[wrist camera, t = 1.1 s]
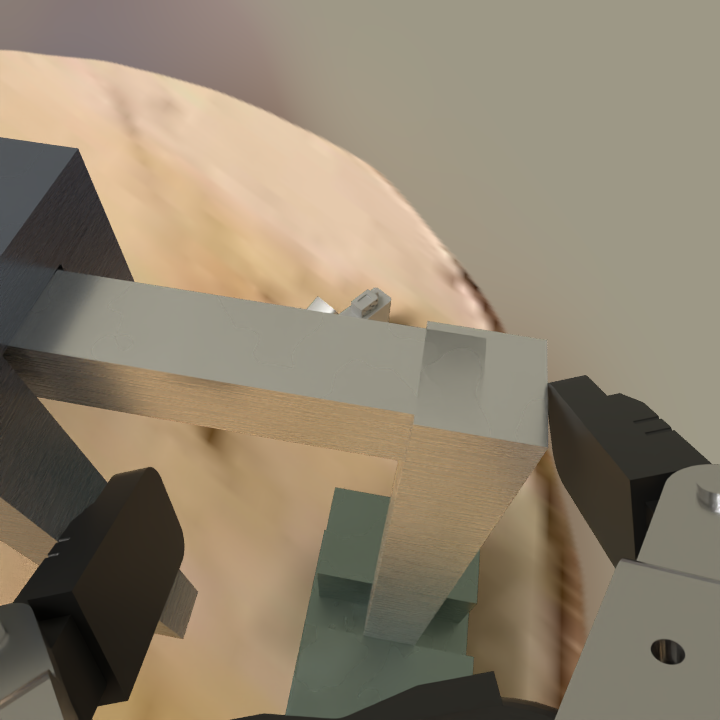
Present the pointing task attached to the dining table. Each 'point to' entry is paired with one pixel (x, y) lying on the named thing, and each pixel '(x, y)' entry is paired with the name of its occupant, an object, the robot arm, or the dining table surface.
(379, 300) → the lighter
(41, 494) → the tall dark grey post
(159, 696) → the dining table surface
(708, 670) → the robot arm
